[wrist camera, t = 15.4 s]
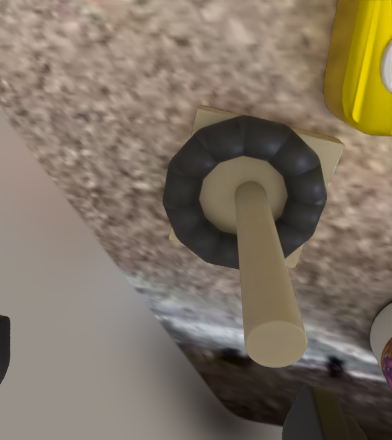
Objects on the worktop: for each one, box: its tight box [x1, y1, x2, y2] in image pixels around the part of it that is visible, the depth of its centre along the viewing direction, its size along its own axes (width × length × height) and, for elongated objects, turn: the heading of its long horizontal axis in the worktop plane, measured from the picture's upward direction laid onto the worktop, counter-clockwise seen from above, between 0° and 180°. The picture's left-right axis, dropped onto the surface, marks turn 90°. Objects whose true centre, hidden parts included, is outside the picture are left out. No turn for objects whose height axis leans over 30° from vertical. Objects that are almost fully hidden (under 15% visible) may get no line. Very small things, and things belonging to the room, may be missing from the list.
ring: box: [163, 115, 327, 270], centre depth 23 cm, size 10×10×2 cm
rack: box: [169, 105, 345, 367], centre depth 18 cm, size 9×9×14 cm
